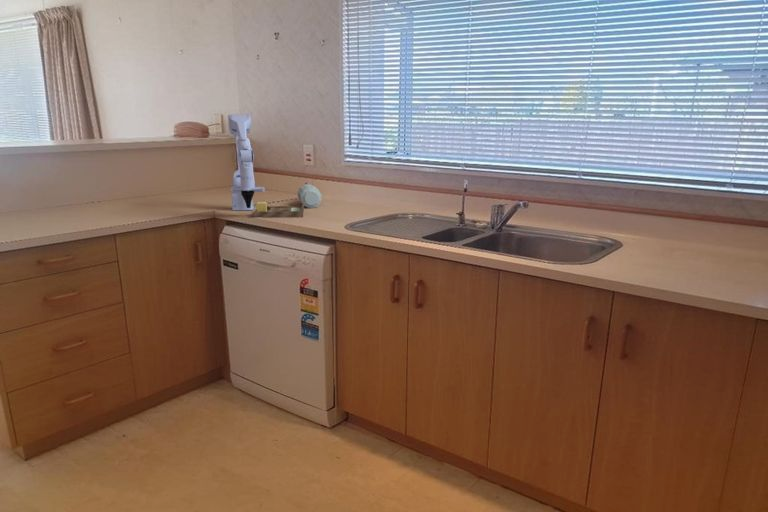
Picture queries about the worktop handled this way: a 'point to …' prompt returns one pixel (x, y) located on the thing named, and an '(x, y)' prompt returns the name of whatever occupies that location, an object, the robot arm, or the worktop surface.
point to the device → (309, 195)
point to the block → (261, 206)
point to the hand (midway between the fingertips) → (248, 207)
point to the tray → (281, 211)
